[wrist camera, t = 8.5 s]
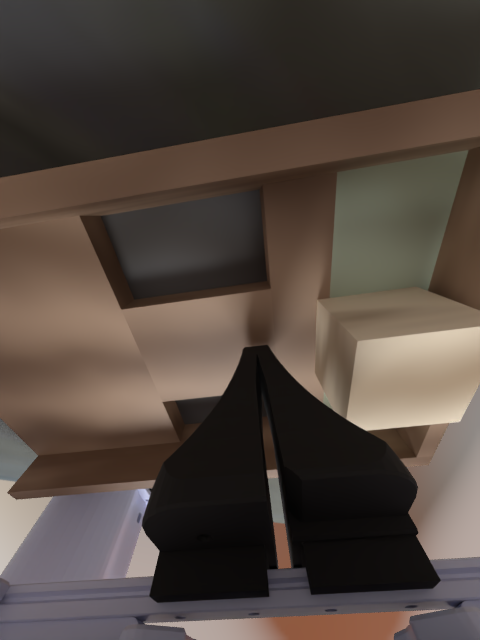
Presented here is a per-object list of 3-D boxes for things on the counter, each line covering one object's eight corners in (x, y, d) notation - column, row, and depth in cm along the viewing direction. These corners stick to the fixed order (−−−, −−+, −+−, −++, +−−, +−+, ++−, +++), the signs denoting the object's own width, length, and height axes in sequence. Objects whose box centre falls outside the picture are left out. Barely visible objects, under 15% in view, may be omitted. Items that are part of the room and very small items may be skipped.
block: (396, 363, 12) (459, 421, 9) (314, 372, 13) (344, 432, 9) (416, 286, 10) (511, 322, 7) (317, 299, 11) (357, 341, 7)
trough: (383, 407, 17) (428, 465, 13) (63, 439, 19) (16, 499, 15) (454, 131, 9) (627, 61, 5) (-116, 231, 11) (-327, 238, 7)
